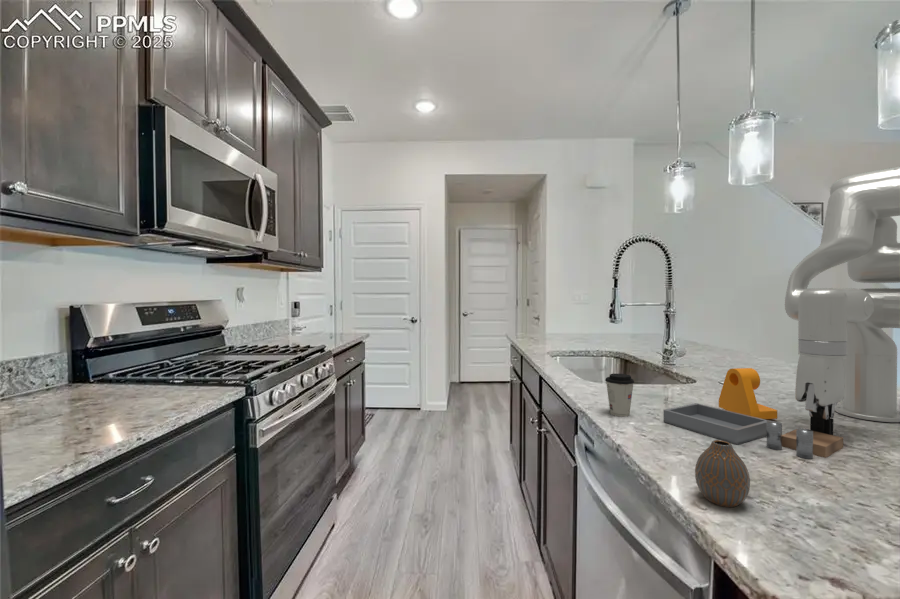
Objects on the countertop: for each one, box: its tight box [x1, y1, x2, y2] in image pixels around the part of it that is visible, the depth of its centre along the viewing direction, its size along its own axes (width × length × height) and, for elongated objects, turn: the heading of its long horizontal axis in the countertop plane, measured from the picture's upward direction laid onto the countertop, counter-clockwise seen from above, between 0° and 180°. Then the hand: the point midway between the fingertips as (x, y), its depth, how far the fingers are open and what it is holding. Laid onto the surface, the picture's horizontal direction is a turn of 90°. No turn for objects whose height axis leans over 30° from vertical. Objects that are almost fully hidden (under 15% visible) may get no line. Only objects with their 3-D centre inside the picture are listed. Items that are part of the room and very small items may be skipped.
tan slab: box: [782, 428, 844, 459], centre depth 82 cm, size 9×7×2 cm
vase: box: [694, 439, 751, 508], centre depth 62 cm, size 7×7×9 cm
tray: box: [663, 402, 770, 446], centre depth 94 cm, size 13×17×3 cm
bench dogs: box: [766, 420, 814, 460], centre depth 80 cm, size 2×7×5 cm, turn 26°
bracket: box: [718, 367, 778, 420], centre depth 103 cm, size 11×7×12 cm, turn 3°
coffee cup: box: [604, 373, 635, 418], centre depth 105 cm, size 7×7×10 cm
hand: (821, 436), depth 85 cm, fingers closed
